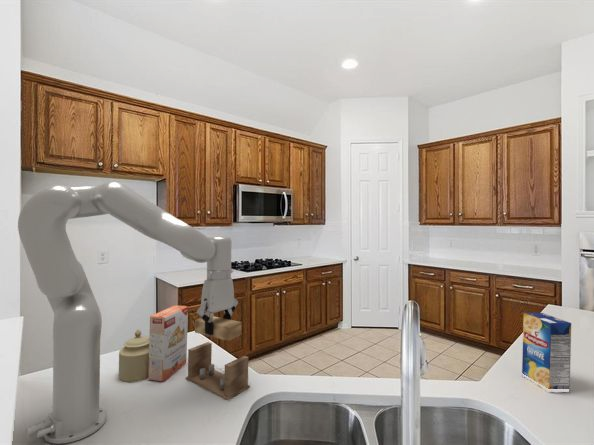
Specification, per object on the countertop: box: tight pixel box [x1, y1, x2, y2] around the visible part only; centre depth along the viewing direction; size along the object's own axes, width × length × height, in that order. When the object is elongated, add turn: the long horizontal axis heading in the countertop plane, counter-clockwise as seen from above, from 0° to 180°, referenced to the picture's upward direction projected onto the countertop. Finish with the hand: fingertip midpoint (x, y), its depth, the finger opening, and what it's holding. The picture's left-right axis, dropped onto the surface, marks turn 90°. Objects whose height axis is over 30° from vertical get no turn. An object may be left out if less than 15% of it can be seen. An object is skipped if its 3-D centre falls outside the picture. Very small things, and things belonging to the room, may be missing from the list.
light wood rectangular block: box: [194, 315, 243, 342], centre depth 100 cm, size 14×6×4 cm, turn 62°
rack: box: [185, 341, 250, 401], centre depth 100 cm, size 9×20×10 cm, turn 54°
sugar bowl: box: [118, 329, 149, 383], centre depth 106 cm, size 15×11×15 cm
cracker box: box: [147, 304, 189, 383], centre depth 107 cm, size 14×6×21 cm, turn 168°
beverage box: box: [521, 312, 572, 390], centre depth 103 cm, size 7×11×22 cm, turn 3°
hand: (218, 330), depth 100 cm, fingers closed on light wood rectangular block, 6 cm apart
